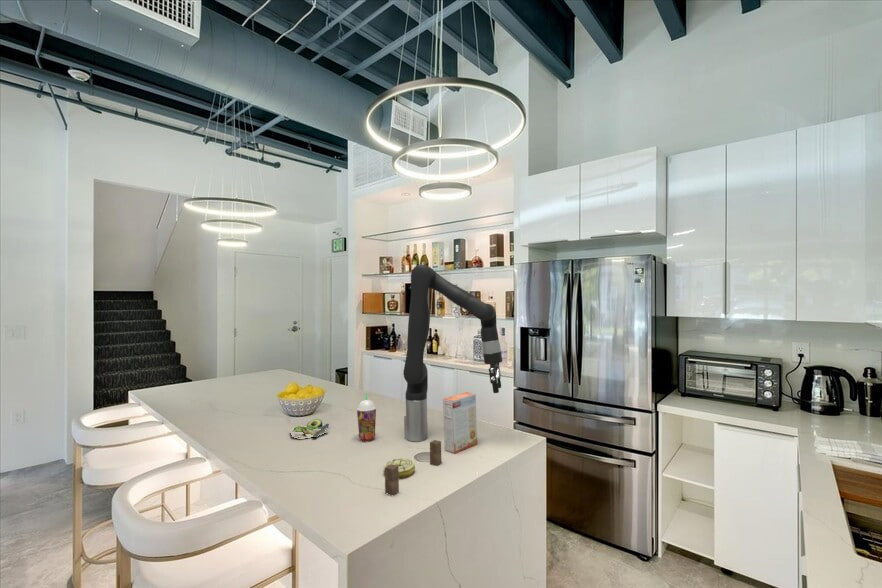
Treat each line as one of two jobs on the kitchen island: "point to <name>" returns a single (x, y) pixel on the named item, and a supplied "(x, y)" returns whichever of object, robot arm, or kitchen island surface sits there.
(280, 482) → the kitchen island surface
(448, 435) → the cracker box
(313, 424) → the salad plate
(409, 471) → the decorated donut
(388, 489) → the posts
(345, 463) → the kitchen island surface
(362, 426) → the smoothie
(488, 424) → the kitchen island surface
